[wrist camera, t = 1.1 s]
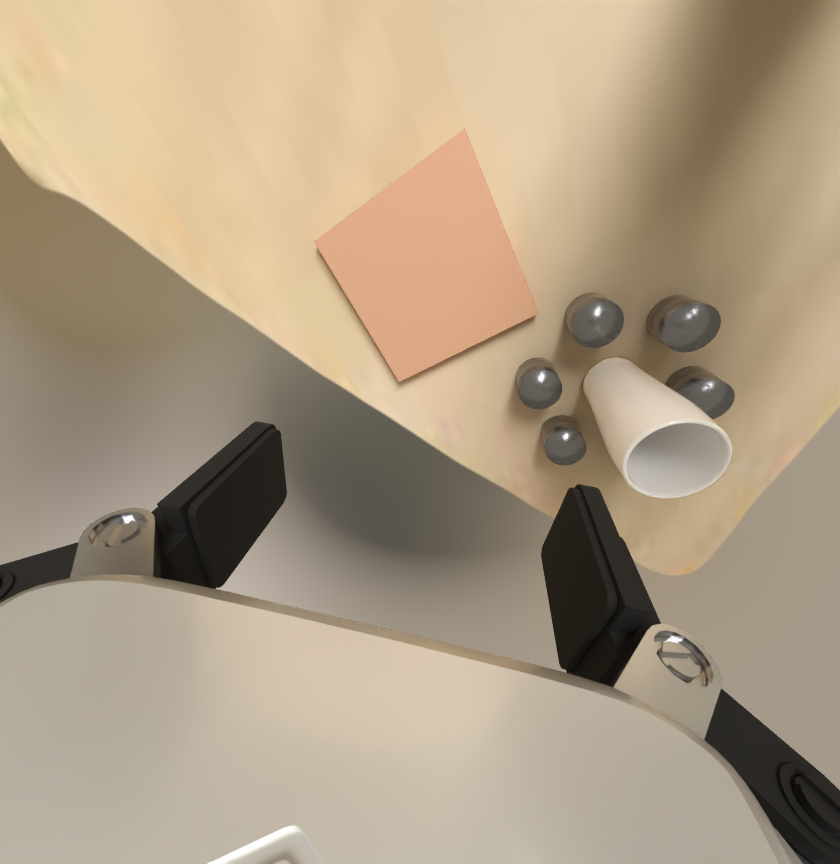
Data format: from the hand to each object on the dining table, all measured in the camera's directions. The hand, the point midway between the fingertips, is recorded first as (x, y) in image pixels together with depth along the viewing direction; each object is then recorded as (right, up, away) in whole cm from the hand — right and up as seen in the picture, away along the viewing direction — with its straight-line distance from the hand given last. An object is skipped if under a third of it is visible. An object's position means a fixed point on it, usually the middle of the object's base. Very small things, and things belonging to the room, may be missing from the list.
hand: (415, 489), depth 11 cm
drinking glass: (+20, +7, +25) cm, 33 cm away
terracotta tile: (+1, +17, +23) cm, 29 cm away
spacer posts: (+20, +7, +25) cm, 33 cm away
